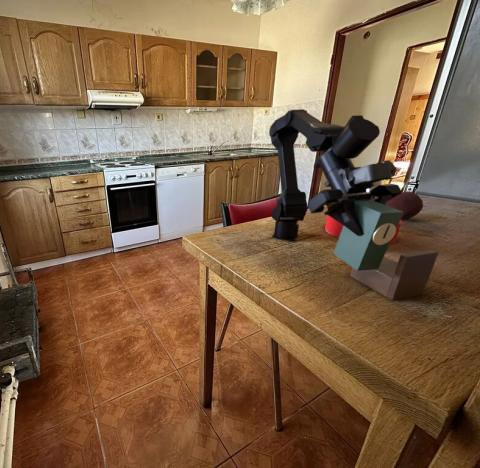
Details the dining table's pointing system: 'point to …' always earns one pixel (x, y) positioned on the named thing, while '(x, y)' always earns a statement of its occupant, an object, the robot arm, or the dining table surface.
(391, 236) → the clock
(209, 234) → the dining table surface
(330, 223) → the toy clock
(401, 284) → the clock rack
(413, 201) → the potato
